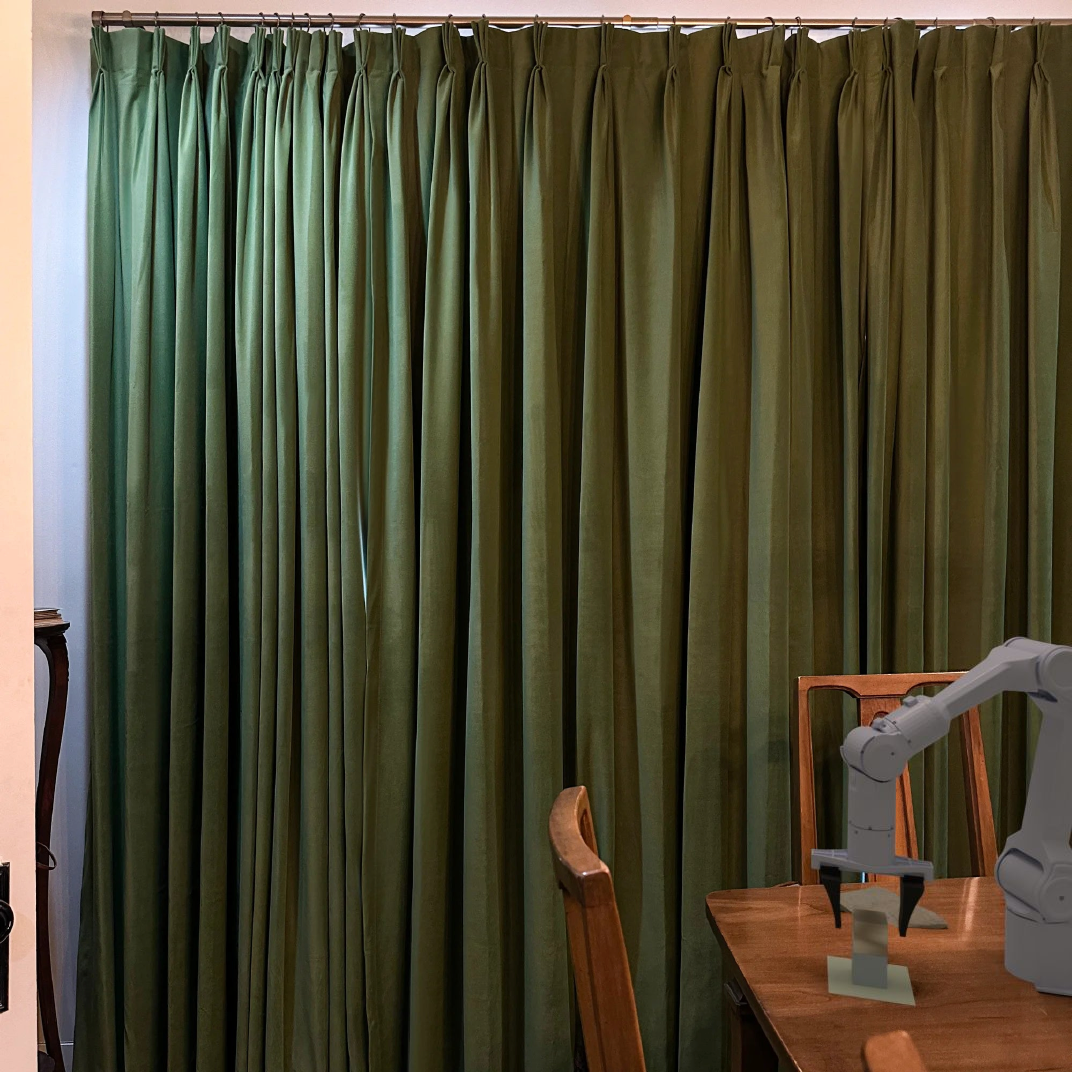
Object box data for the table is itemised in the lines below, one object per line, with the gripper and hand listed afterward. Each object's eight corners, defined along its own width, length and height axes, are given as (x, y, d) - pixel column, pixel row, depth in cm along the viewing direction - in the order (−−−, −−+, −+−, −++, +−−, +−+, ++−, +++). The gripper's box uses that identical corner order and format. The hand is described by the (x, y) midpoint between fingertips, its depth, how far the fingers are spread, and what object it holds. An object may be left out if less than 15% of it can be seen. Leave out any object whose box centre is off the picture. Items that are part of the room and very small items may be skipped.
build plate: (906, 974, 120) (906, 966, 120) (915, 1013, 110) (915, 1005, 110) (826, 963, 122) (827, 955, 122) (828, 1000, 113) (828, 992, 113)
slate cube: (884, 974, 118) (884, 943, 117) (886, 989, 114) (887, 957, 114) (851, 969, 119) (852, 939, 119) (853, 984, 115) (853, 953, 115)
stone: (951, 938, 131) (952, 921, 131) (894, 950, 127) (894, 932, 127) (877, 897, 145) (878, 881, 145) (823, 907, 141) (824, 890, 141)
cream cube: (885, 942, 118) (885, 912, 118) (887, 957, 114) (888, 925, 114) (852, 938, 119) (852, 908, 119) (853, 952, 115) (854, 921, 115)
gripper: (929, 819, 118) (927, 923, 118) (811, 808, 122) (810, 909, 122) (936, 837, 111) (934, 948, 111) (812, 825, 115) (810, 931, 115)
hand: (869, 929), depth 116 cm, fingers open, 7 cm apart
